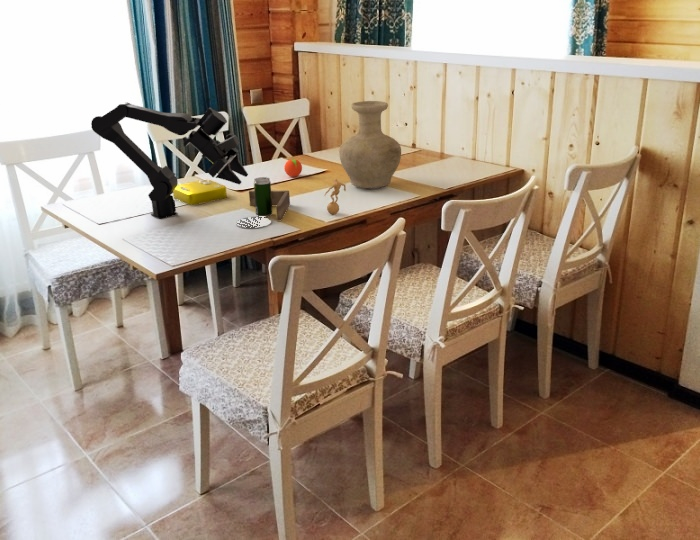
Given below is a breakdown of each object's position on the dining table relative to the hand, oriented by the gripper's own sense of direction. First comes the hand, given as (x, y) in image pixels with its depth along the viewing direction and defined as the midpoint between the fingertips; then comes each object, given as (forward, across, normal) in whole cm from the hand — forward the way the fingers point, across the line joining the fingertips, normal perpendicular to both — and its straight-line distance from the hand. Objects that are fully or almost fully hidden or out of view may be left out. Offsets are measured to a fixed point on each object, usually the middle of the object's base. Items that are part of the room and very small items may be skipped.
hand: (244, 179), depth 220 cm
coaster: (+11, -8, +6) cm, 15 cm away
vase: (+36, +35, -18) cm, 53 cm away
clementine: (+14, +48, +3) cm, 50 cm away
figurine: (+29, +1, -12) cm, 31 cm away
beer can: (+13, 0, +5) cm, 13 cm away
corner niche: (+12, +3, +5) cm, 13 cm away
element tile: (-7, +21, +24) cm, 33 cm away
